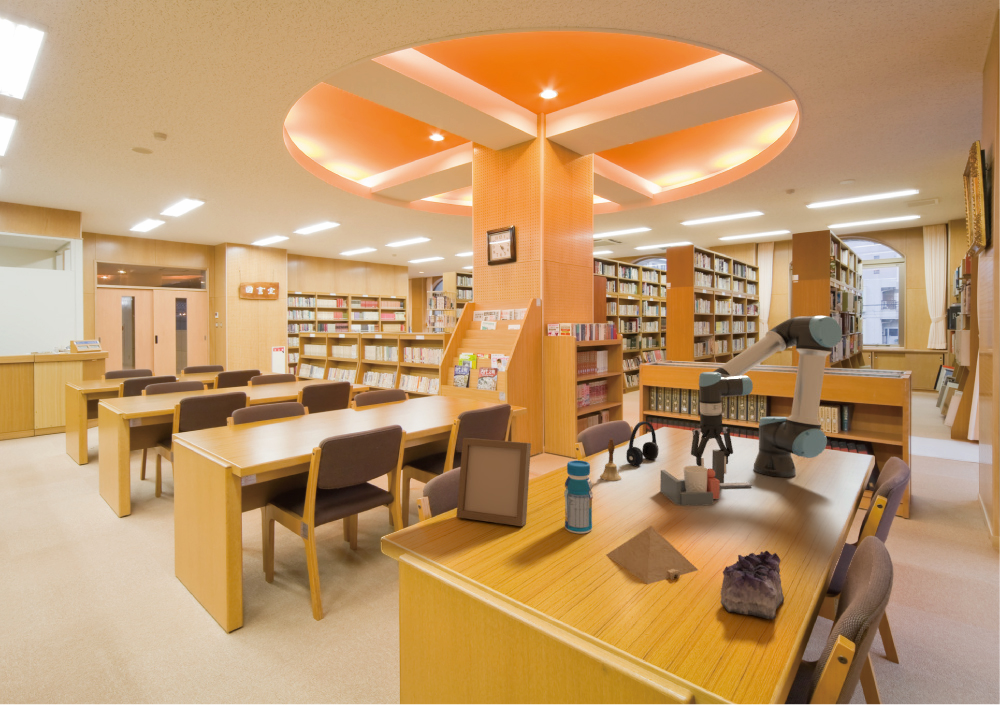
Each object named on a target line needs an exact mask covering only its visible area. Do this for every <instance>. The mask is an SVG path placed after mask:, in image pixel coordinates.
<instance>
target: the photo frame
mask: <svg viewBox="0 0 1000 705" xmlns="http://www.w3.org/2000/svg"><path fill="white" fill-rule="evenodd" d="M531 445H532V443H531V442H519V441H511V440H510V441H508V440H494V439H482V438H472V437H471V438H470V437H469V438H468V437H463V438H462V445H461V458H460V470H459V481H458V492H457V494H458V495H457V504H456V505H457V506H456V518H461V519H469V520H475V521H483V522H490V523H496V524H502V525H509V526H510V525H511V526H517V527H523V526H525V525H527V515H528V514H527V513H528V512H527V511H528V498H529V497H528V496H529V481H530V466H531V463H530V462H531V448H532V446H531Z"/></svg>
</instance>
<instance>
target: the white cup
mask: <svg viewBox="0 0 1000 705" xmlns="http://www.w3.org/2000/svg"><path fill="white" fill-rule="evenodd" d="M707 469H708V468H707V467H705V466H704V467H701V466H698V465H688V466H684V467H683V479H684V480H685V488H686V491H685V492H707V471H708V470H707Z"/></svg>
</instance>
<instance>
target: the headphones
mask: <svg viewBox="0 0 1000 705" xmlns="http://www.w3.org/2000/svg"><path fill="white" fill-rule="evenodd" d="M643 425H647V426H648V427H649V429H650V433H651V441H648V442H645V443H643V445H642V449H641V448H639V447H636V446H634V440H635V438H636V434H637V432H638V431H639V429H640V428H641V427H642V426H643ZM628 444H629V445H628V449H627V450H626V461H627V463H628V464H629V465H632V466H633V467H634V466H635V467H636V466H640V465H641V464H642V463H643V461H644V458H645V459H646V460H656V459H657V458H658V456H659V446H658V444H657V437H656V432H655V428H654V427H653V424H652V423H651V422H649V421H639V422H638V423H636V425H635V427H634V428H633V429H632V432H631V434H630V439H629V443H628Z"/></svg>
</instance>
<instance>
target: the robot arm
mask: <svg viewBox="0 0 1000 705" xmlns="http://www.w3.org/2000/svg"><path fill="white" fill-rule="evenodd" d="M842 336H843V330H842V326H841V325H840V323H838V321H837V320H836V319H835V318H833V317H832V316H827V315H810V316H809V315H807V316H795V317H794V316H793V317H792V318H791V317H790V318H789V319H786V320H784V321H782V322H781V323H779V324H777V325H776V326H774V327H773V328H771V329H769V331H767V332H765V336H764V337H762V338H761V339H759V340H758V341H757V342H755V343H753V344H752V345H751V346H749V347H748V348H746V349H744V350H743V351H741V352H740V353H739V354H738V355H736V356H734V357H733V358H732V359H730V360H728V361H727V362H725V363H724V364H722V365H721V366H720V367H718V368H716V369H715V370H714V371H706V372H705V371H704V372H701V373H699V375H698V376H699V379H698V389H699V412H700V413H699V414H700V415H699V423H700V427H699V428H697V429H694V428H692V431H691V432H692V441H691V442H692V443H691V449H690V455H691V456H693V457H695V458H696V459H695V462H696V463H695V464H696V466H701V467H705V458H704V457H703V455H704V452H705V450H706V446H707V445H708V442H709V441H710V440H713V439H715V441H716V443H717V445H718V448H719V450H722V451H724V475H725V474H726V475H727V465H729V458H730V456H731V455H732V454H734V449H733V444H732V439H731V428H729V427H727V426H725V427H724V426H723V415H722V412H723V408H722V402H723V401H722V400H723V399H722V398H725V397H728V398H729V397H738V396H739V397H743V396H748V395H750V394H751V393H752V391H753V386H754V383H753V381H752V379H751V378H750V377H749V376H748V375H745V374H747V373H748V372H749V371H751V370H752V369H753V368H755V367H757V366H758V365H759V364H762V363H763V362H764V361H765V360H767V359H769V358H771V356H773V355H774V354H776V353H777V352H784V351H786V349H788V348H791V347H795V350H796V351H797V353H798V355H799V356H798V357H799V358H798V363H797V371H796V372H797V373H796V376H795V378H796V379H795V384H794V385H795V386H794V393H793V401H792V406H791V412H790V415H788V416H763V417H761V418H760V419H759V422H758V424H759V425H758V453H757V456H756V458H755V460H754V462H753V470H754V471H755V472H757V473H758V474H762V475H765V476H770V477H776V478H777V477H779V478H789V477H790V478H791V477H794V476H796V474H797V473H796V472H797V471H796V466H795V463H794V461H793V458H792V454H793V455H796V456H797V457H801V458H802V457H803V458H806V459H814V458H816V457H818V456H819V455H820V454H822V453H823V452H824V450H825V449H826V447H827V443H828V439H827V436H826V434H825V432H823V430H822V423H821V421H819V419H818V417H819V416H818V415H819V411H820V410H819V409H820V403H821V395H822V389H823V382H824V375H825V367H826V360H827V357H828V356H829V355H830V354H832V352H833V348H834V347H836V346H838V345H839V343H840V342H841V340H842ZM721 433H722V434H723V437H722V436H721ZM701 434H702V435H701ZM700 435H701V438H700Z"/></svg>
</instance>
